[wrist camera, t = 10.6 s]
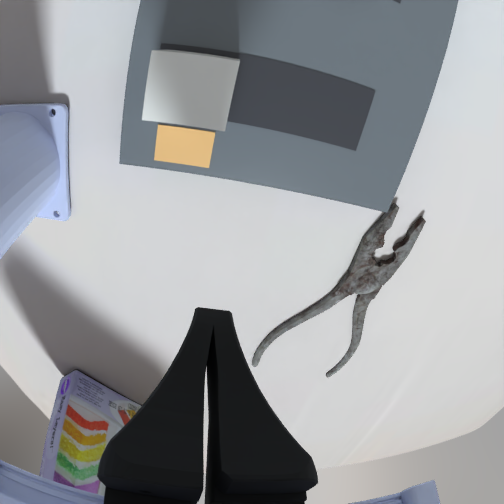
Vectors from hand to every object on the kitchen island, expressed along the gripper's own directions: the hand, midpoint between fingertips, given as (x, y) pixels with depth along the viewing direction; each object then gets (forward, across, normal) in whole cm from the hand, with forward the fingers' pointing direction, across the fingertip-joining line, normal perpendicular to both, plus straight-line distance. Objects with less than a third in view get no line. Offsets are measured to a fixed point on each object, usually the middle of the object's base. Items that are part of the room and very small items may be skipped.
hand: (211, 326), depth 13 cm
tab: (+8, +2, -8) cm, 11 cm away
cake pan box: (+10, +8, +29) cm, 32 cm away
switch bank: (+9, -2, -12) cm, 16 cm away
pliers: (+10, -10, +7) cm, 16 cm away
